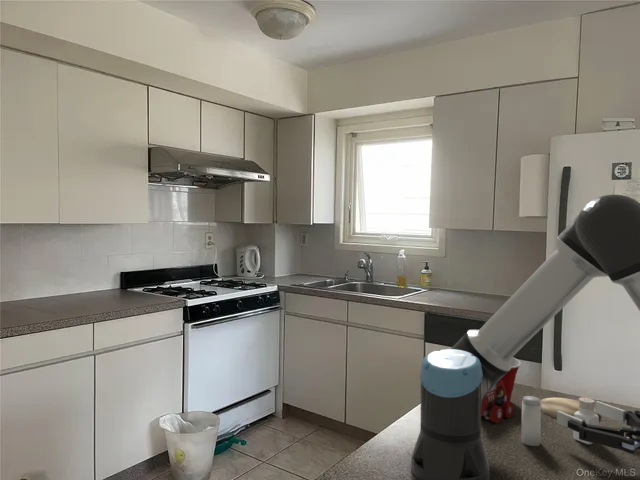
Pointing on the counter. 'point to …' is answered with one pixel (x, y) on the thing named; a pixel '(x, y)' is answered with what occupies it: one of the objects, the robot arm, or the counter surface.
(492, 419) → the toy fire truck
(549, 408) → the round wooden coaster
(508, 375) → the plastic cup
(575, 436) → the pepper shaker
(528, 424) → the salt shaker
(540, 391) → the counter surface
